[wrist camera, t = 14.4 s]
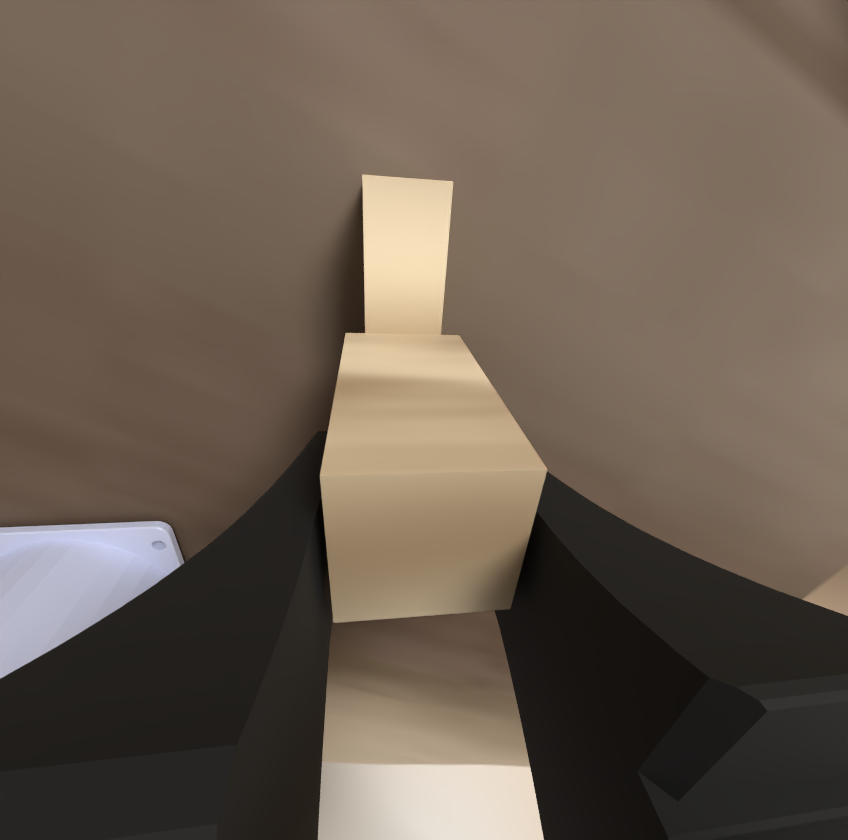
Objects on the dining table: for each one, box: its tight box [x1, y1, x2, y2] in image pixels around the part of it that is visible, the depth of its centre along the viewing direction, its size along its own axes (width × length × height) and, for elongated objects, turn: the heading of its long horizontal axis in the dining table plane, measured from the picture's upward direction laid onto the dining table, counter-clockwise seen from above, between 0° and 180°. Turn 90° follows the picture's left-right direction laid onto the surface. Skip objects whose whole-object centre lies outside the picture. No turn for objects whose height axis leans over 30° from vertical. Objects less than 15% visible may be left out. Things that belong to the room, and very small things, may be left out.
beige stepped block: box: [320, 175, 547, 623], centre depth 10 cm, size 10×3×9 cm, turn 177°
